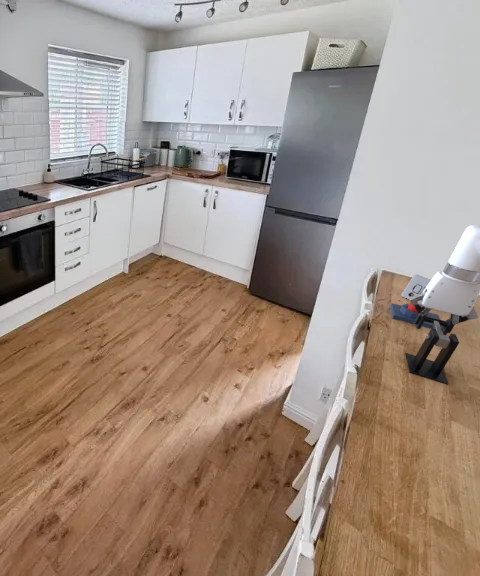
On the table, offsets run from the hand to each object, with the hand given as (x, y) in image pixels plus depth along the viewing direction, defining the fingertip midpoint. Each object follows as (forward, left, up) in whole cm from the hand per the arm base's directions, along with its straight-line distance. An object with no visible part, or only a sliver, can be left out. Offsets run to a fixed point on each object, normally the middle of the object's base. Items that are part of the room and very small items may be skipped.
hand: (430, 329), depth 104 cm
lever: (0, +6, +1) cm, 6 cm away
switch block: (-1, -21, -7) cm, 22 cm away
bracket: (0, +11, -7) cm, 13 cm away
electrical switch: (-4, -40, -8) cm, 41 cm away
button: (0, -21, -4) cm, 21 cm away
